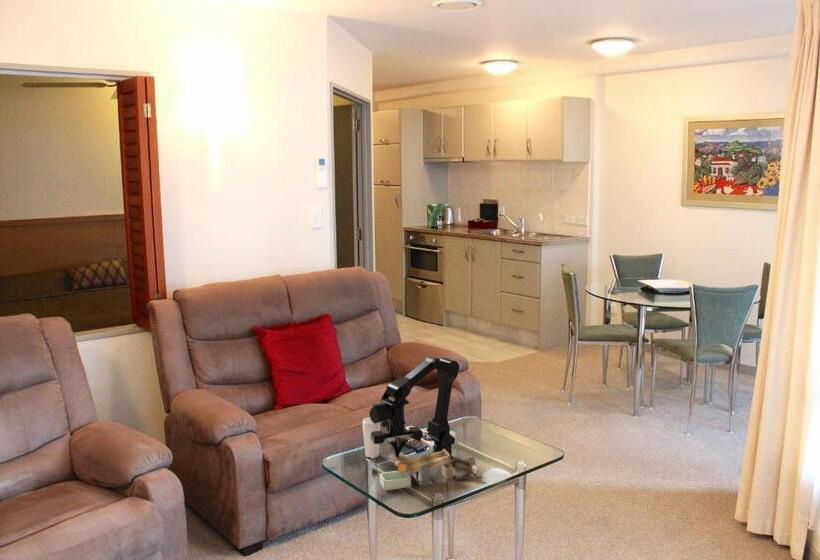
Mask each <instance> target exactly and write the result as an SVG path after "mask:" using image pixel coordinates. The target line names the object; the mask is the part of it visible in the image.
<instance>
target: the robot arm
mask: <svg viewBox="0 0 820 560" xmlns="http://www.w3.org/2000/svg"><path fill="white" fill-rule="evenodd" d="M435 370H436V372H437V378H438V379H439V384H438V391H437V397H436V404H435V411H434V412H435V413H434V417H433V418H432V419H431V420H428V422H427V428H426V431H427V435H428V436H429V437H430V440H431V441H433V445H432V454H433V453H437V452H440V451H443V449H445V450H446V451H447V452H448V453H449V454H450V457H451V460H454V456H453V455H452V453H453V451H452V450H453V449H452V446H453V445H454V444H455V441H456V438H455V437H454V436H453V435H451V433H450V432H451V430H450V429H451V427H450V423H449V421H448V416H449V409H450V403H451V396H452V395H451V394H452V388H453V382H455V380H456V379H457V377H458V374H459V370H460V364H459V362H458V361H456V360H454V359H451V358H448V357H441V358H438V357H433V356H427V357H426V358H425V359H424V360H423V361H422V362H421V363H420V364H418V365H417V366H416V367H415V368H413V369H412V370H411V371H410V372H409V373H407V374H406V375H405V376H404V377H402V378H401V377H400V378H397V379H395V380H393V381H391V382H390V383H388V384H387V385H386V389H385V391H384V393H383V395H381V398H380V399H379V401H380V402H379V403H375V404H374V403H373V404H372V407H371V408H370V411H369V414H368V415H369V417H370V419H371V421H372V422H373V423H375V424H376V423H379V422H380V428H385V429H386V432H387V433H384V432H382V430H380V431H374V432H372V433H371V440H372V441H373V443H374V444H379V445H381V444H383V443H385V441H386V442H387V444H389V445H391V447H392V450H393V452H394V454H395V456H396V457H398V456H399V454H400V452H402V450H403V448H404V446H405V445H406V443H408V442H409V440H408V437H410V436H412V438H413V439H414V440H419V439H423V437H424V433H423V430H422V429H421V428H420V426H418V425H417V426H416V425H415V426H409V427H408V430H405V425H406V420H405V405H409V404H410V401H408V400H407V398H408V396H409V395H410V394H411V391H412V389H413V388H414V387H415V386H416V385H417V384H419V382H421V381H423V379H424V378H426V377H427V376H429V374H431V373H432V372H433V371H435Z"/></svg>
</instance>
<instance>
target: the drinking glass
mask: <svg viewBox="0 0 820 560" xmlns="http://www.w3.org/2000/svg"><path fill="white" fill-rule="evenodd" d="M374 431H381V423H380V422H379V423H376V424H375V423H373V422H372V421H371V419H370V416H369V417H365V418H363V419H362V433H363V443H364V455H365V457H366V458H367V457H374V458H373V459H376V458H378V457H379V455H380V452H379V451H380V444H374V443H373V441H372V440H371V433H372V432H374Z"/></svg>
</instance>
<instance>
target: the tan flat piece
mask: <svg viewBox="0 0 820 560" xmlns="http://www.w3.org/2000/svg"><path fill="white" fill-rule="evenodd" d="M388 457H389V459H390V462H392V464H393V465H395V466H396V467H399V465H401V464H405V465H406V466H407V469H409V471H411V474H414V473H415V472H418V471H421V470H422V466H429V465H430V469H431V468H434V467H437V466H442V464H445V463H448V462H449V463H452V459H451V457H450V454H449V453H448V452H447V451H446V450H445V449H443V451H440V452H437V453H433V452H432V453H430V454H426V455H423V456H418V457H419V458H418V457H413V456H411V455H410V456H409V457H406V456H405V454H404V453H403V452H402V451H401V452H400V454H399V456H398V457H396V456H395V453H394V454H390V455H388ZM415 458H416V459H415Z"/></svg>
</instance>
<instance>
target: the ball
mask: <svg viewBox="0 0 820 560" xmlns="http://www.w3.org/2000/svg"><path fill="white" fill-rule="evenodd" d="M397 469H398V470H399V472H400V473H405V472H406V471H407V472H408V466H407V464H401V465H399V466H397ZM398 470H397V471H398Z"/></svg>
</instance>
